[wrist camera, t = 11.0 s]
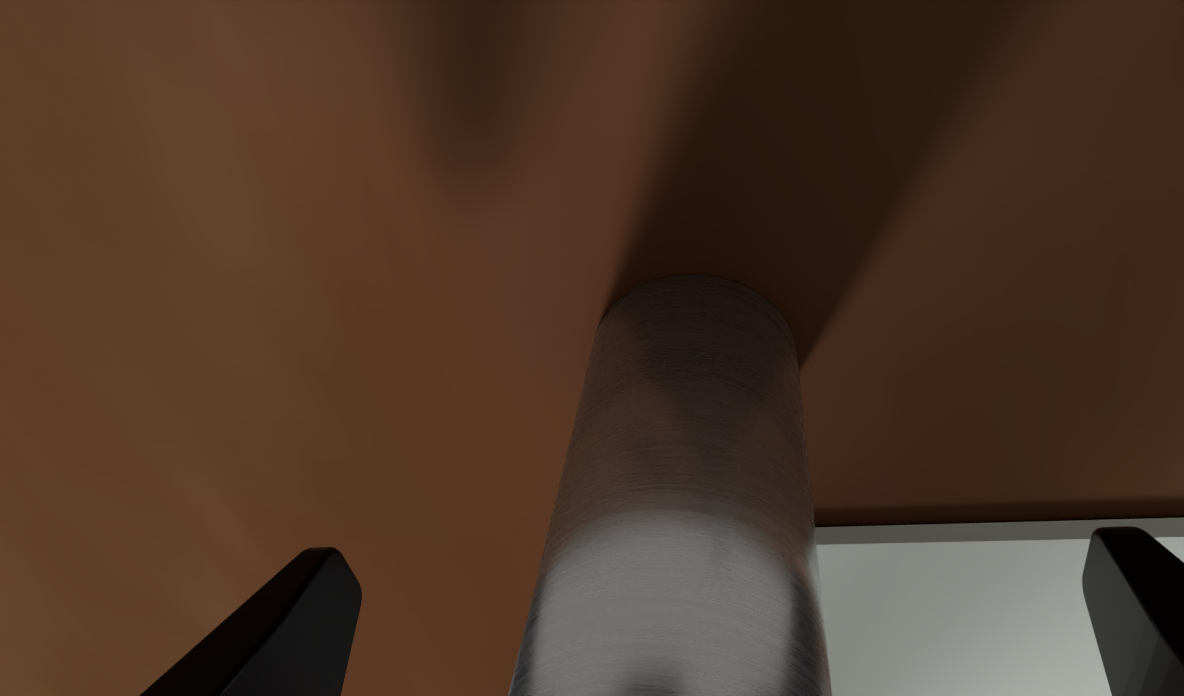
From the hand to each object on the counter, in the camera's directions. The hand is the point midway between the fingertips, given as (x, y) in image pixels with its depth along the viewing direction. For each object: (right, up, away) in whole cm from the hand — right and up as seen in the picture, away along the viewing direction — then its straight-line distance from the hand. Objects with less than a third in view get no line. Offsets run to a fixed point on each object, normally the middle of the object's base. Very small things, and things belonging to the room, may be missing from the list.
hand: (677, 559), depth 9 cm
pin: (+1, +2, +3) cm, 4 cm away
